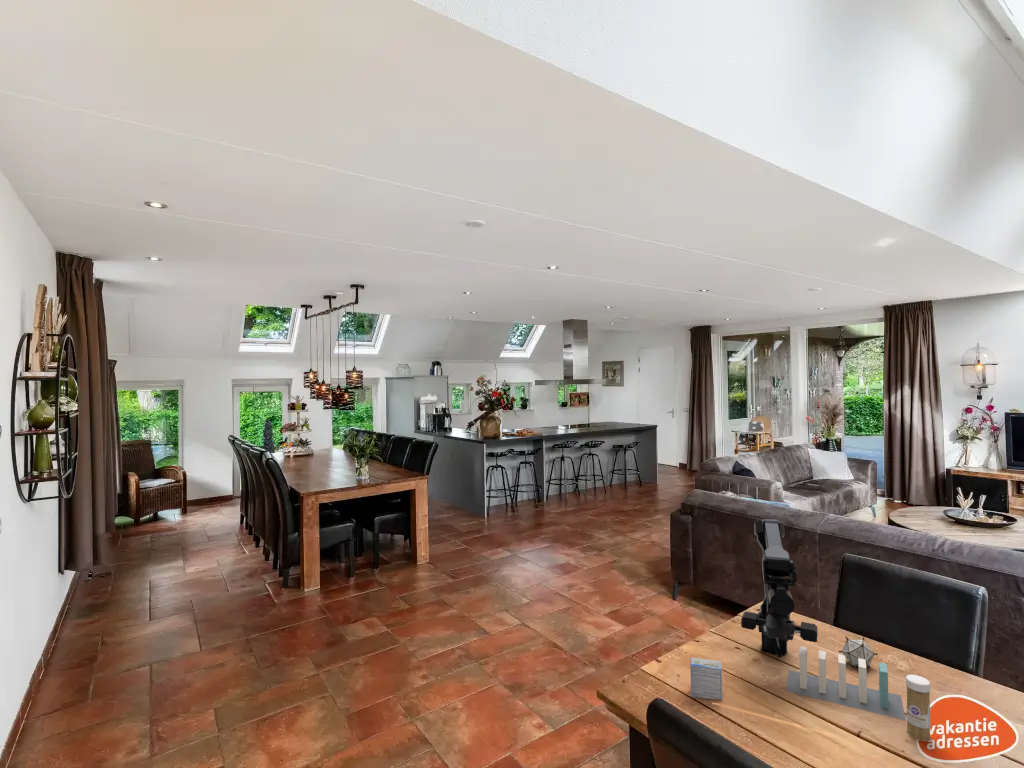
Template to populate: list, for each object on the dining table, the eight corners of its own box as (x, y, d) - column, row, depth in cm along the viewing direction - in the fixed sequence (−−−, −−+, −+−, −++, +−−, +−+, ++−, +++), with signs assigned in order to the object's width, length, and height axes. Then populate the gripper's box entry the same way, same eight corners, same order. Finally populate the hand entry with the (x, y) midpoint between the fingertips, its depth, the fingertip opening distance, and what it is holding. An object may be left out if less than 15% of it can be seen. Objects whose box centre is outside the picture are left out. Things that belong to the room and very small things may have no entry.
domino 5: (880, 707, 136) (880, 671, 136) (879, 697, 140) (878, 662, 141) (888, 708, 135) (887, 672, 135) (887, 698, 140) (886, 663, 140)
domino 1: (799, 687, 145) (799, 654, 145) (800, 678, 150) (800, 646, 150) (806, 689, 145) (806, 655, 145) (807, 680, 149) (806, 647, 149)
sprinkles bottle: (905, 738, 125) (904, 679, 125) (907, 728, 129) (906, 671, 129) (931, 746, 122) (929, 686, 122) (932, 736, 126) (930, 678, 126)
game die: (859, 676, 158) (872, 644, 161) (875, 680, 150) (888, 647, 153) (829, 657, 161) (842, 626, 163) (842, 661, 153) (855, 628, 155)
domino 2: (819, 692, 143) (818, 658, 143) (819, 683, 147) (819, 650, 147) (826, 693, 142) (825, 659, 142) (826, 684, 147) (825, 651, 147)
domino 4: (859, 701, 139) (858, 666, 139) (858, 692, 143) (858, 658, 143) (867, 703, 138) (866, 668, 138) (866, 693, 142) (865, 659, 142)
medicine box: (722, 693, 145) (721, 660, 145) (722, 702, 140) (722, 669, 141) (691, 688, 147) (690, 656, 147) (690, 697, 143) (690, 664, 143)
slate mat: (785, 693, 144) (785, 690, 144) (788, 672, 154) (788, 670, 154) (906, 722, 131) (905, 720, 131) (900, 697, 141) (900, 695, 141)
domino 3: (839, 697, 141) (838, 662, 141) (839, 687, 145) (838, 654, 145) (846, 698, 140) (845, 663, 140) (846, 689, 144) (845, 655, 144)
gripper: (737, 604, 148) (738, 661, 148) (815, 618, 139) (816, 679, 139) (743, 590, 158) (744, 644, 158) (817, 603, 148) (818, 660, 148)
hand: (779, 656), depth 150 cm, fingers closed
